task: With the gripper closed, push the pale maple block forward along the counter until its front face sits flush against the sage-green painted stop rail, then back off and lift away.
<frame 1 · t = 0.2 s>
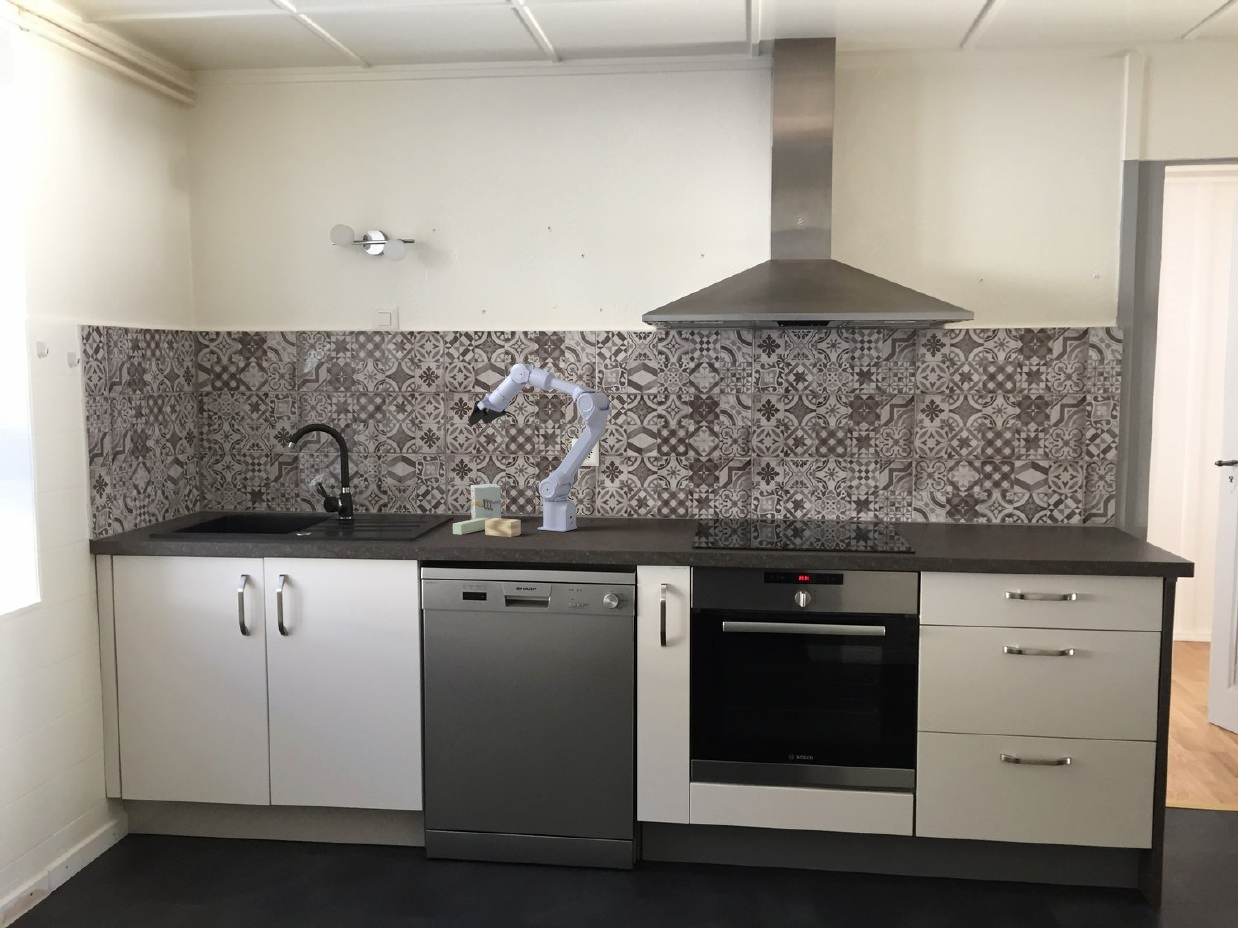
hand: (477, 422, 306), 32 cm above the counter, tool tilted 50°, fingers open, 7 cm apart
ink box: (485, 522, 311), on the counter
stop rail: (471, 530, 292), on the counter
block: (502, 535, 286), on the counter
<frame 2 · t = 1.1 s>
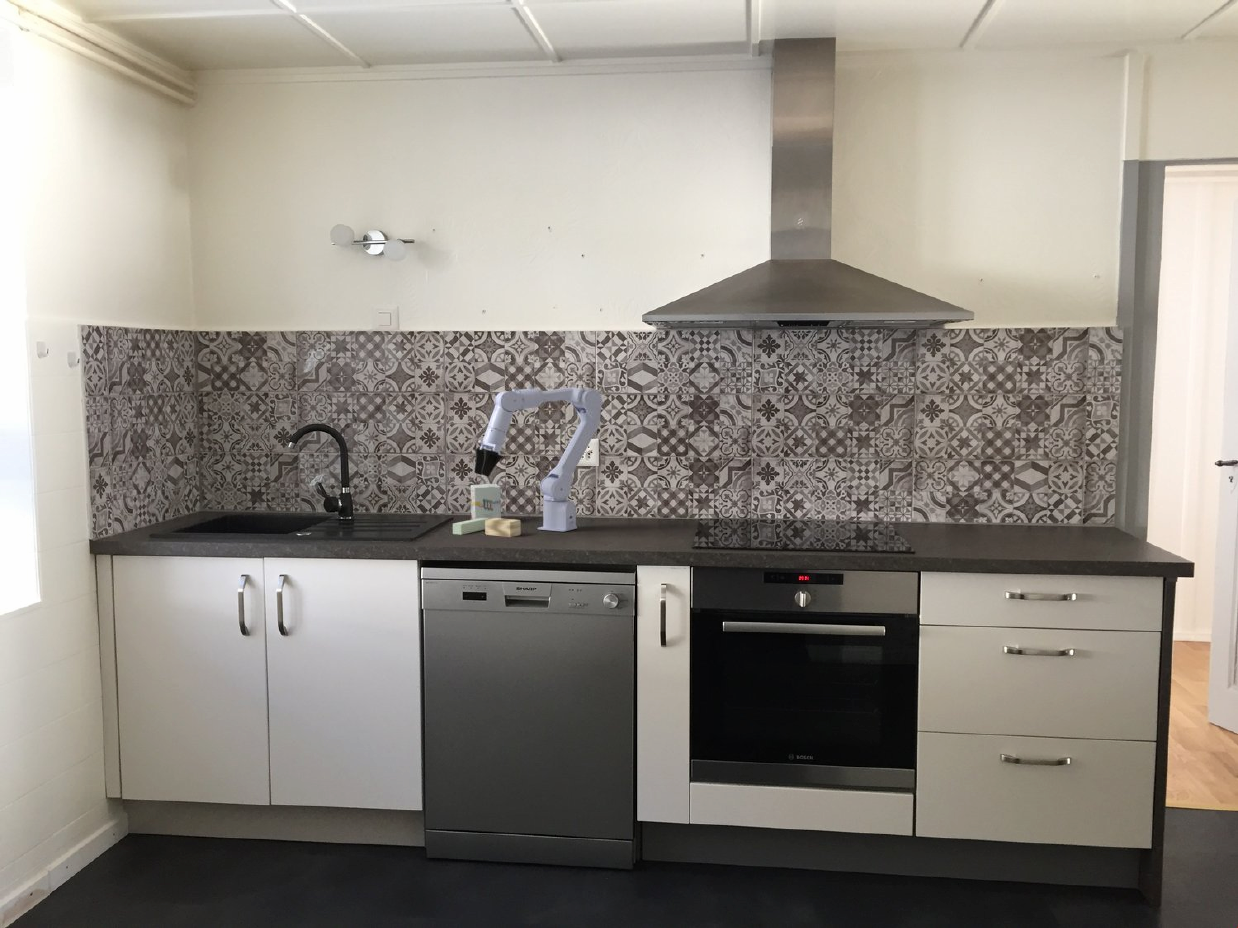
hand: (481, 474, 284), 17 cm above the counter, tool tilted 20°, fingers open, 7 cm apart
nothing on the counter moved.
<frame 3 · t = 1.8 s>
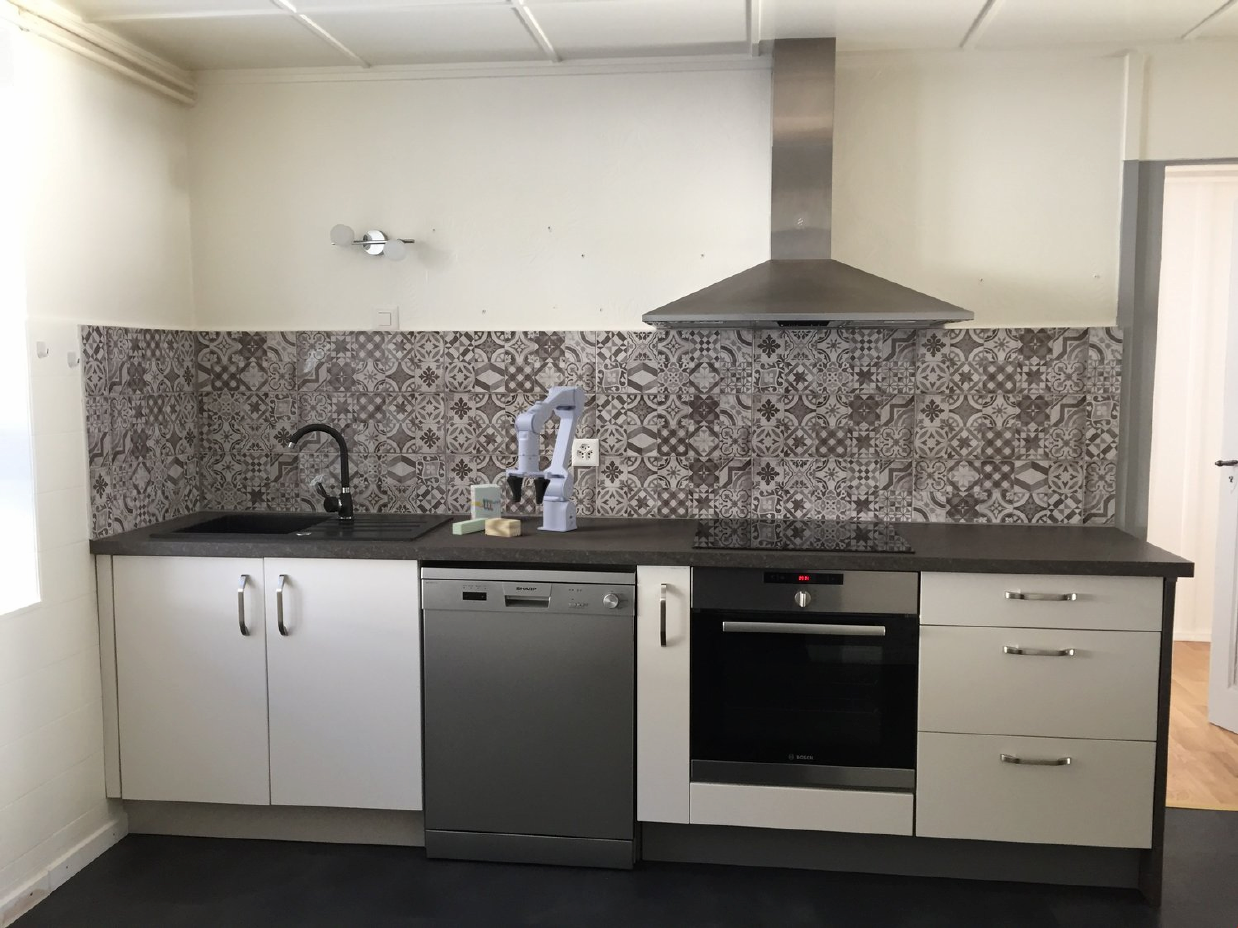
hand: (528, 503, 280), 10 cm above the counter, tool pointing down, fingers open, 7 cm apart
nothing on the counter moved.
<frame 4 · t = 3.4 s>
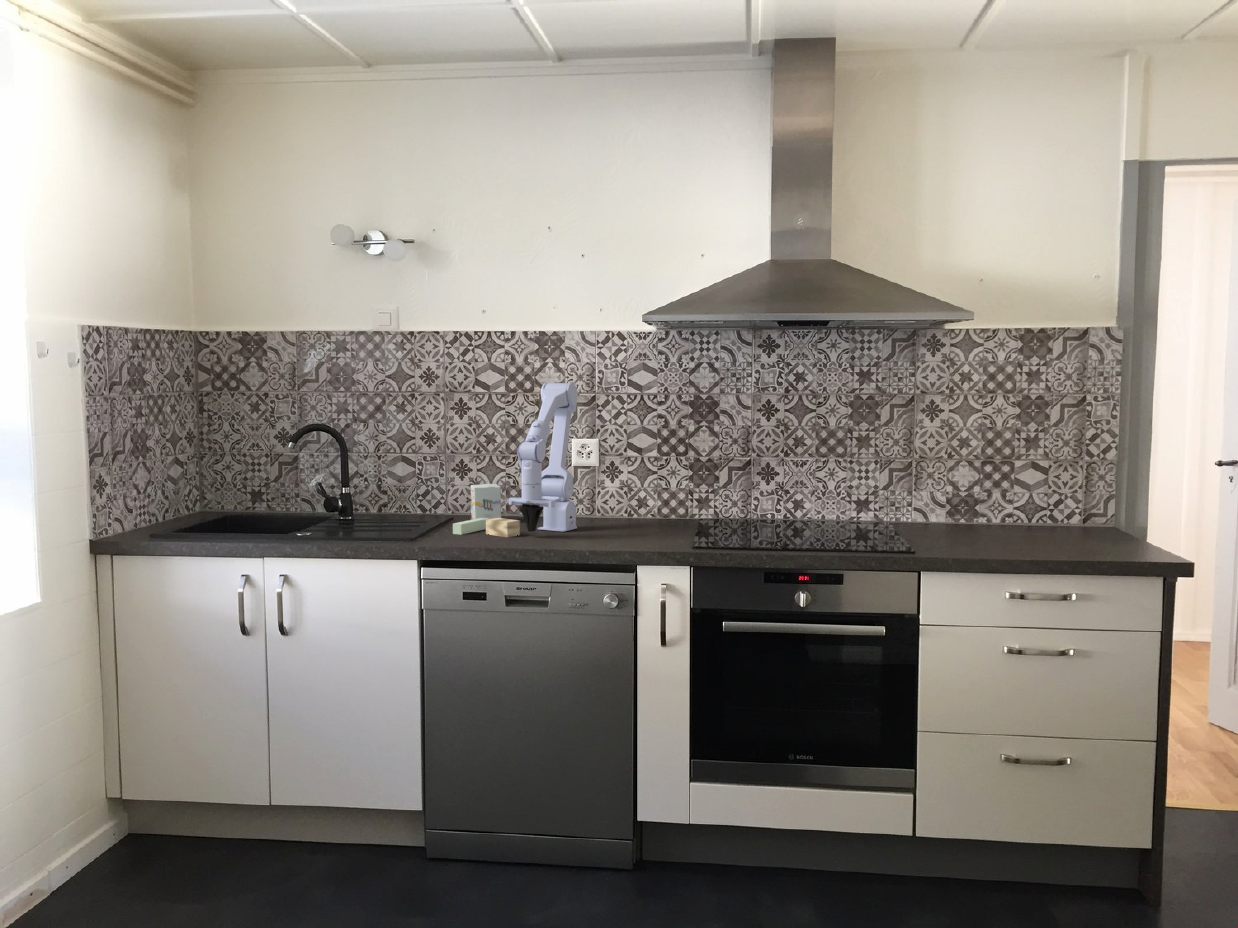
hand: (531, 531, 281), 2 cm above the counter, tool pointing down, fingers closed
nothing on the counter moved.
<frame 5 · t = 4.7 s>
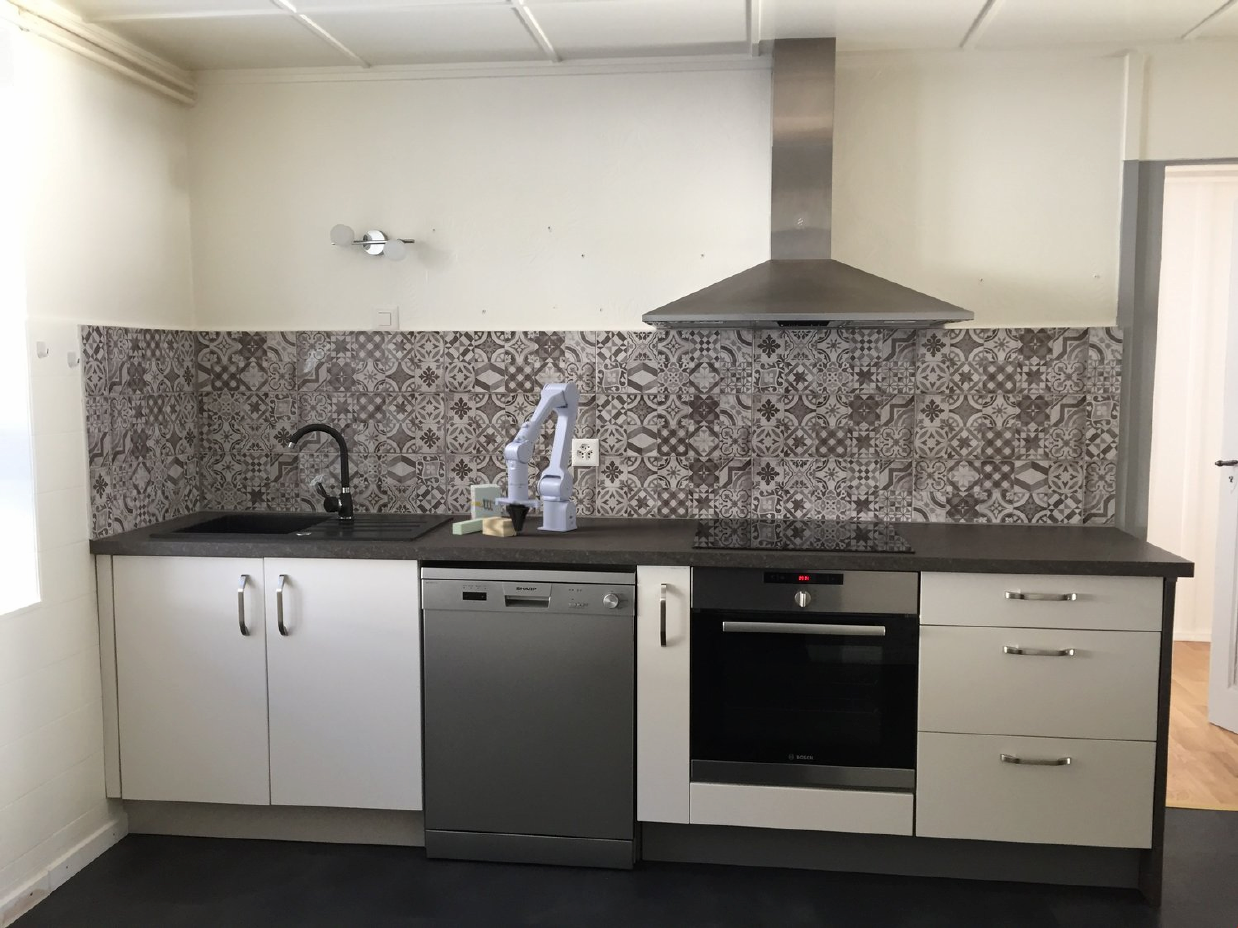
hand: (518, 531, 283), 1 cm above the counter, tool pointing down, fingers closed
block: (499, 534, 286), on the counter, touching gripper
everything else where it was.
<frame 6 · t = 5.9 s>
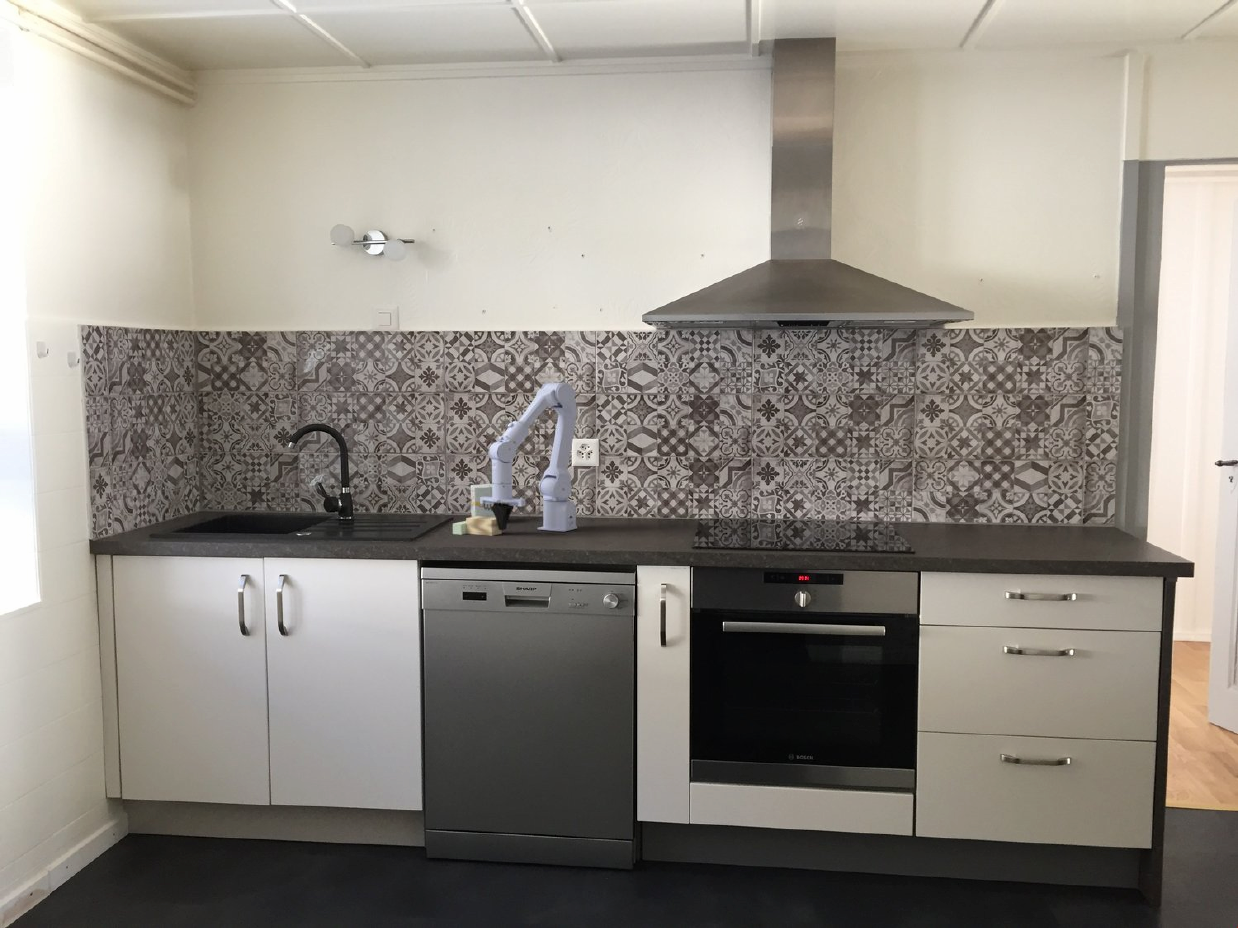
hand: (502, 529, 286), 1 cm above the counter, tool pointing down, fingers closed
block: (483, 533, 288), on the counter, touching gripper, stop rail
everything else where it was.
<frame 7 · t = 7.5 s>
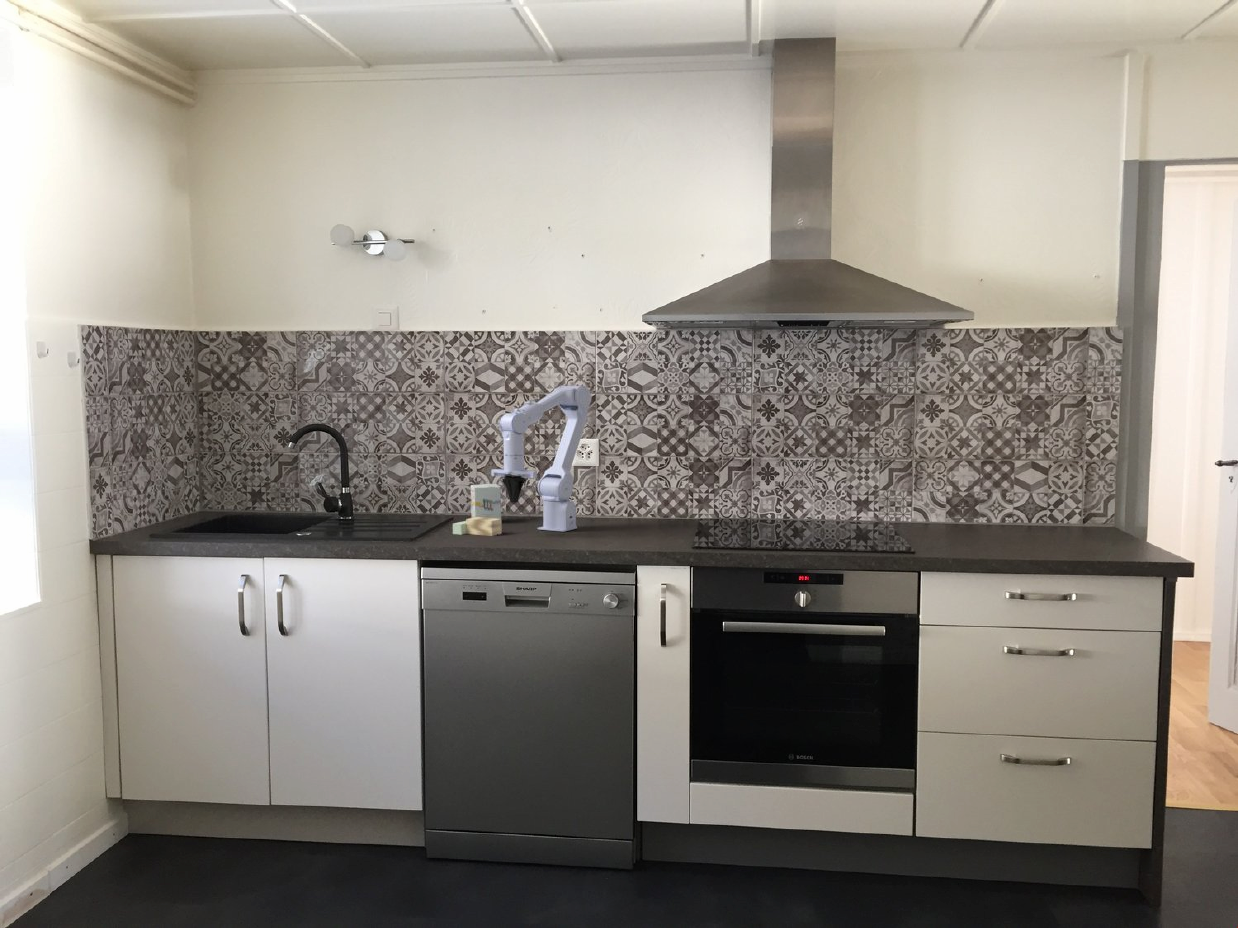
hand: (514, 502, 283), 10 cm above the counter, tool pointing down, fingers closed
block: (484, 534, 288), on the counter
everything else where it was.
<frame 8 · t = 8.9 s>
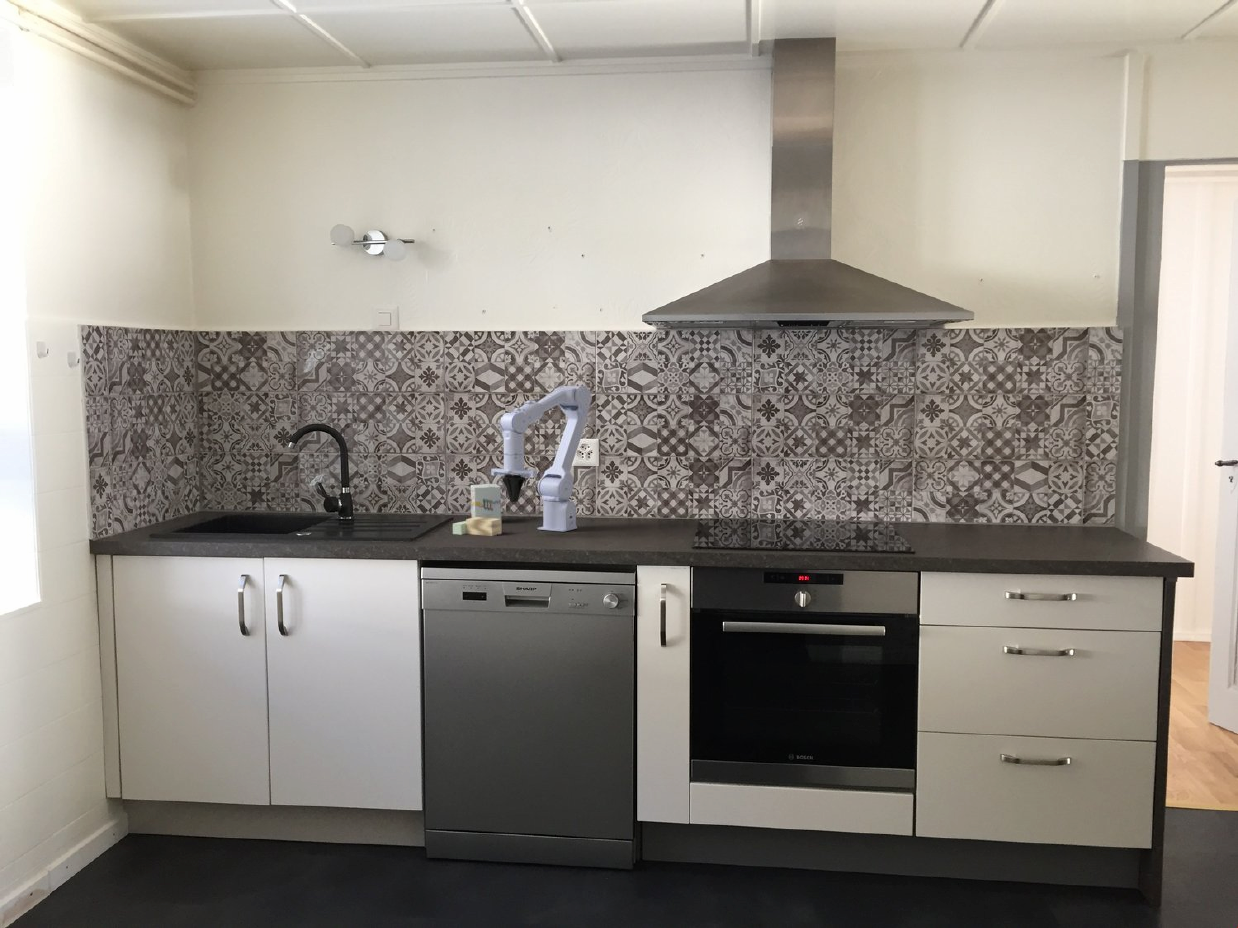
hand: (514, 501, 283), 10 cm above the counter, tool pointing down, fingers closed
nothing on the counter moved.
at the end: block 1.2 cm from the target spot on the counter beside the stop rail, on the counter; block tilted 0° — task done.
